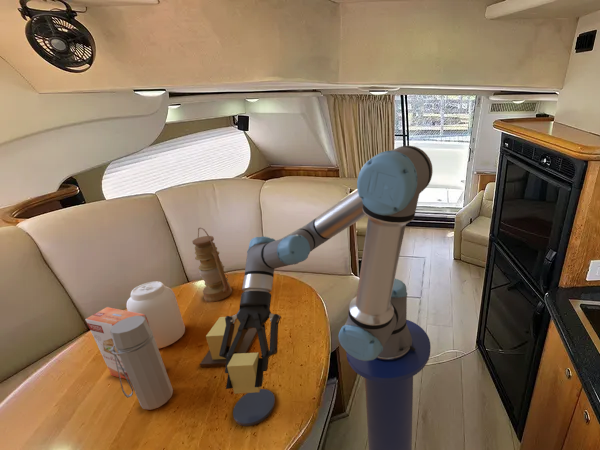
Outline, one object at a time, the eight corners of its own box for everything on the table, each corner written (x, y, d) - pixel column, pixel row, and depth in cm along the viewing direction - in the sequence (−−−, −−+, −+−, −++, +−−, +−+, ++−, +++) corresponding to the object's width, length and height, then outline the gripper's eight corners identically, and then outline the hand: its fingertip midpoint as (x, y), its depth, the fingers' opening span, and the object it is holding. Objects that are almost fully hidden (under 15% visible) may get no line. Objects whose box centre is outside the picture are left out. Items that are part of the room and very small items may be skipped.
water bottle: (172, 382, 89) (146, 310, 80) (176, 401, 83) (148, 326, 74) (131, 401, 84) (98, 325, 74) (132, 422, 78) (96, 343, 69)
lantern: (242, 290, 133) (228, 224, 122) (224, 304, 124) (207, 234, 113) (213, 285, 137) (196, 221, 126) (193, 299, 127) (173, 231, 116)
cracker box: (109, 377, 91) (83, 318, 83) (131, 361, 96) (107, 305, 89) (147, 387, 88) (123, 327, 80) (167, 370, 93) (146, 312, 86)
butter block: (244, 338, 104) (239, 316, 101) (232, 358, 96) (226, 335, 93) (225, 339, 104) (219, 316, 101) (212, 359, 96) (205, 336, 92)
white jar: (131, 346, 103) (111, 294, 95) (168, 322, 114) (152, 274, 106) (159, 354, 99) (140, 301, 92) (194, 329, 110) (179, 280, 103)
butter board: (262, 324, 113) (261, 321, 112) (241, 364, 95) (240, 361, 95) (228, 325, 112) (227, 322, 112) (200, 367, 94) (199, 364, 94)
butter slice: (264, 378, 81) (258, 352, 78) (259, 392, 77) (252, 365, 74) (240, 380, 81) (233, 353, 77) (234, 393, 77) (226, 366, 74)
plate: (281, 393, 86) (281, 390, 86) (263, 428, 77) (262, 425, 76) (247, 390, 87) (246, 387, 86) (225, 424, 78) (224, 421, 77)
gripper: (295, 294, 89) (288, 384, 80) (227, 296, 88) (211, 388, 79) (288, 288, 82) (279, 386, 73) (214, 291, 81) (195, 391, 72)
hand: (244, 387), depth 76 cm, fingers closed on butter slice, 6 cm apart
